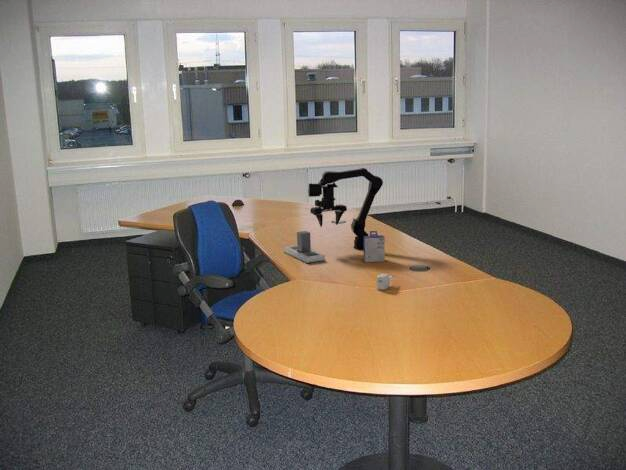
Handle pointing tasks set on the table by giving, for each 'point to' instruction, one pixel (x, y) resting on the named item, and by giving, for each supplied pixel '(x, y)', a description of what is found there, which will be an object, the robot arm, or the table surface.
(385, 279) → the power adapter
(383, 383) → the table surface
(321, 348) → the table surface
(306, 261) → the silver compartment tray
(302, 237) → the steel square peg
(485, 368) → the table surface
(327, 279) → the table surface
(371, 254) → the ink cartridge box
